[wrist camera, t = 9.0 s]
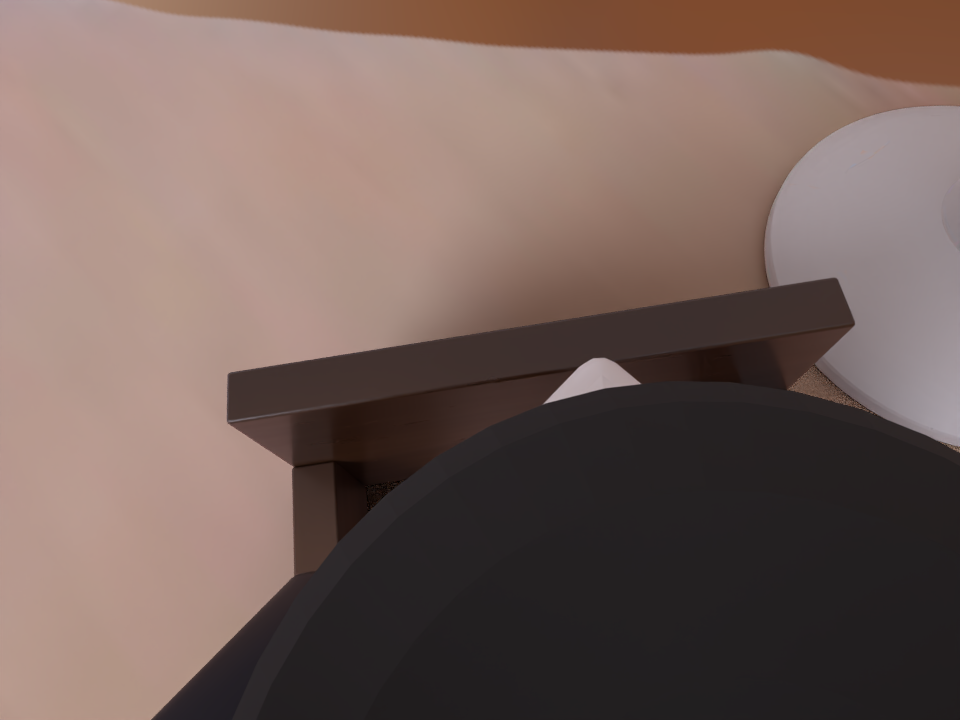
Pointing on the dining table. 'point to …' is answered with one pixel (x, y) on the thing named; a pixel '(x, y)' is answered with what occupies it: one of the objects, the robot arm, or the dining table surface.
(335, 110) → the dining table surface
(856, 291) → the candlestick
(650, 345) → the wooden holder
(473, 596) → the medicine bottle
